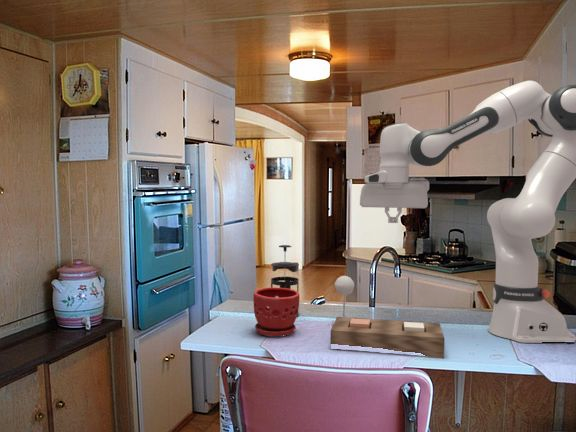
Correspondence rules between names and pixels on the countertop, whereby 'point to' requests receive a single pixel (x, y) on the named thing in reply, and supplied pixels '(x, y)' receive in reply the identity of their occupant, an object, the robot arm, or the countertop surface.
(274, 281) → the french press
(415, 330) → the cream key
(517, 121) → the robot arm
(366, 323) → the terracotta key
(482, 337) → the countertop surface
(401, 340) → the brown flat block
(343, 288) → the lollipop
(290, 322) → the plant pot
